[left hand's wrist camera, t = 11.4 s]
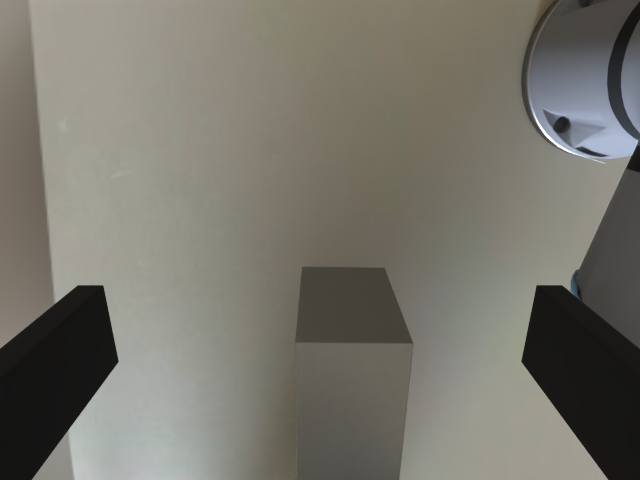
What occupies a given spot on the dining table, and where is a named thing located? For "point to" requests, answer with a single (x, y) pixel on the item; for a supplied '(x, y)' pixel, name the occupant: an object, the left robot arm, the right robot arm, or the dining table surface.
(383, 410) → the bar
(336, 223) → the dining table surface
